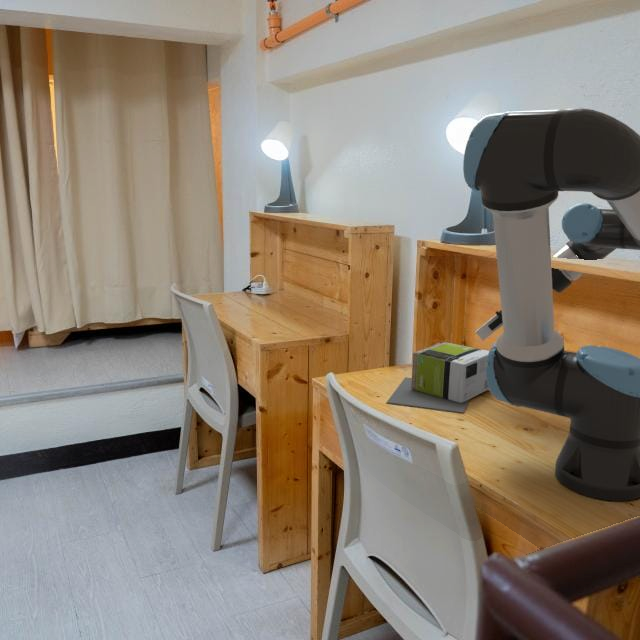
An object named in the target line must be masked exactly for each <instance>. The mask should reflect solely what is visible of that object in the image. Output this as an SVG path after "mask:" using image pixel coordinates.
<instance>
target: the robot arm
mask: <svg viewBox="0 0 640 640" xmlns="http://www.w3.org/2000/svg"><path fill="white" fill-rule="evenodd" d="M477 121H478V122H476V123H475V125H474V127H472V130H471V131H470V134H469V136H468V140H467V142H466V145H465V149H464V155H463V166H462V167H463V168H462V169H463V171H462V172H463V179H464V180H465V183H466V185H467V186H468V188H469V189H471V190H474V191H477V192H478V191H479V192H480V195H481V196H480V197H481V205H482V207H483V208H484V209H486V210H487V211H488V212H490V213H491V214H492V218H493V230H494V242H495V253H496V254H495V255H496V262H497V263H496V265H497V274H498V275H497V276H498V285H499V295H500V296H499V297H500V306H501V308H500V309H501V310H497V311H495V315H494V316H492V317H491V318H489V320H487V321H486V322H485V323H484V324H482V325H481V326H480V327H479V328H478V329H477V330H475V334H477V336H478V338H480V340H481V341H485V340H486V339H488V338H489V337H490V336H491V335H492V334H494V333H495V332H496V331H497V330H499V329H500V328H501V327H502V329H503V330H502V331H503V332H502V333H501V334H499V336H498V337H497V339H496V341H495V342H494V343H493V345H492V346H491V347H490V349H489V350H488V351H489V353H488V357H487V363H488V365H487V366H486V379H487V384H488V387H489V389H488V390H489V392H490V393H491V394H492V396H493V397H494V398H495V399H497V400H498V401H500V402H504V403H507V404H509V405H510V406H511V405H512V406H515V407H518V408H519V407H520V408H521V407H523V408H526V409H531V410H535V411H539V412H544V413H547V414H552V415H555V416H559V417H564V418H568V419H570V423H569V424H570V425H569V433H568V436H567V438H566V440H565V442H564V444H563V446H562V447H561V450H560V452H559V454H558V455H557V458H556V461H555V469H554V476H555V478H556V479H557V480H558V482H559V483H561V484H562V485H563V486H565V487H566V488H567V489H570V490H571V491H573V492H575V493H577V494H581V495H583V496H586V497H588V498H593V499H598V500H602V499H604V500H605V501H609V500H611V502H627V501H628V500H630V501H635V500H634V499H636V500H638V499H637V498H639V497H640V358H639V357H638V356H636V355H633V354H631V353H628V352H625V351H623V350H620V349H617V348H613V347H607V346H597V345H583V346H581V347H580V348H579V349H578V350H577V352H573V351H568V350H565V341H564V337H563V336H562V334H561V333H560V332H559V331H558V330H556V329H555V320H554V297H553V291H554V292H556V293H559V294H561V293H562V292H563V291H564V290H566V289H567V288H568V287H570V286H571V285H572V280H573V281H577V280H578V279H579V278H581V277H582V276H584V277H586V276H588V273H587V274H582V273H578V272H572V271H566V270H560V269H554V268H551V259H552V258H553V257H558V258H567V259H584V260H597V259H602V260H603V259H605V258H607V256H609V255H610V254H611V253H613V251H615V250H616V249H618V250H620V249H621V250H633V251H640V134H639V133H638V132H636V130H634V129H633V128H631V126H629V125H627V124H625V122H622V121H621V120H619V119H617V118H616V117H614V116H611V115H609V114H606V113H604V112H601V111H598V110H594V109H590V108H584V107H574V108H573V107H572V108H563V109H561V108H560V109H547V110H541V109H540V110H522V111H521V110H519V111H516V110H515V111H513V110H508V111H506V112H499V113H491V114H487V115H485V116H482V117H481V119H479V120H477ZM559 192H583V193H584V192H585V193H592V195H594V196H596V197H597V198H598V199H600V200H604V201H607V204H608V205H609V206H610V208H611V209H609V208H607V209H606V208H598V207H597V206H595V205H592V204H591V203H586V202H579V203H577V204H574V205H572V206H571V207H569V208H568V209H567V210H566V211H565V212H564V215H562V219H561V229H562V231H563V233H564V234H565V236H566V237H567V239H568V240H569V241H567V242H566V243H565V244H563V245H562V246H561V247H560V248H558V249H557V250H556V251H554V253H552V251H551V231H550V230H551V229H550V211H549V210H550V209H549V208H550V207H551V205H552V204H554V203H555V201H557V199H558V198H559ZM551 253H552V254H551ZM576 255H577V256H578V257H577V256H576ZM552 256H553V257H552ZM639 499H640V498H639ZM604 500H603V501H604Z"/></svg>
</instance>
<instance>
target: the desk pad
mask: <svg viewBox="0 0 640 640" xmlns="http://www.w3.org/2000/svg"><path fill="white" fill-rule="evenodd" d="M411 385H412V377H404V378H403V380H402V381H401V382H400V383H399V385H398V387H396V389H395V390H394V391H393V393H392V394H391V396H390V397H389V398H388V400H386V404H388V403H390V405H395V404H396V405H398V406H405V407H412V408H421V409H426V410H428V409H429V410H434V411H442V412H450V413H456V414H457V413H458V414H465V411H466V408H467V406H468V404H469V401H470V399H468V400H467V401H464V402H463V403H459V402H455V401H451V400H448V399H444V398H441V397H438V396H434V395H430V394H427V393H423V392H419V391H416V390H413V389H411Z"/></svg>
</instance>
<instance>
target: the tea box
mask: <svg viewBox="0 0 640 640" xmlns="http://www.w3.org/2000/svg"><path fill="white" fill-rule="evenodd" d="M489 351H490V350H486V349H480V348H476V347H470V346H467V345H460V344H455V343H452V342H451V343H450V342H447V341H443V342H440V343H438V344H435V345H431V346H429V347H426V348H422V349H420V350H417V351H414V352H413V353H412V366H411V367H412V369H411V378H412V385H411V389H413V390H416V391H419V392H423V393H427V394H430V395H434V396H438V397H441V398H444V399H448V400H451V401H455V402H459V403H463V402H464V401H467V400H468V399H469V400H470V399H473V398H474V397H476V396H479V395H480V394H483V393H484V392H487V391H488V390H490V389H489V387H488V384H487V379H486V366H487V365H488V363H487V357H488V353H489Z"/></svg>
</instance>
